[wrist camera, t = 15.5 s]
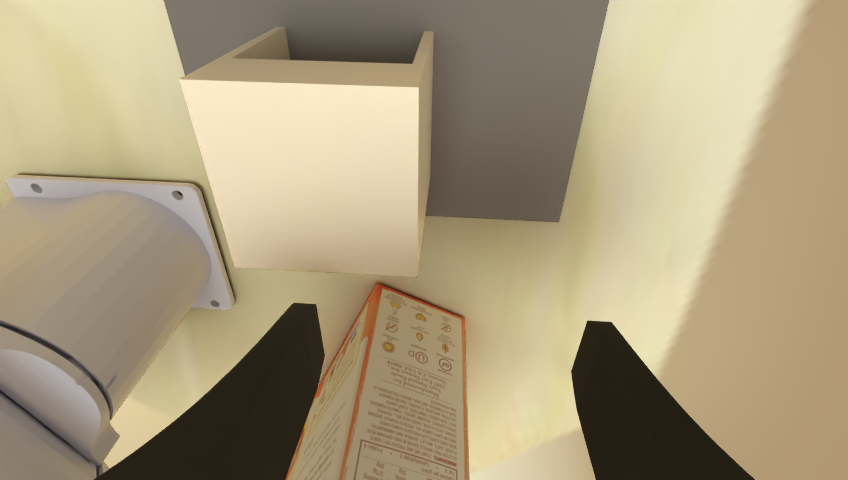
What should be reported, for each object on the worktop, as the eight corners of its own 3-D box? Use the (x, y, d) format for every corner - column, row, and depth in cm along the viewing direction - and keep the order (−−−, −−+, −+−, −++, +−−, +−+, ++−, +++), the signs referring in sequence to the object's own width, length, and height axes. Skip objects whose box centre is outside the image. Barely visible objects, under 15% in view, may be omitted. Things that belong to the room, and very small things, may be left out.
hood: (299, 170, 20) (234, 267, 14) (276, 26, 17) (178, 79, 11) (430, 175, 20) (417, 277, 14) (433, 31, 16) (418, 87, 11)
